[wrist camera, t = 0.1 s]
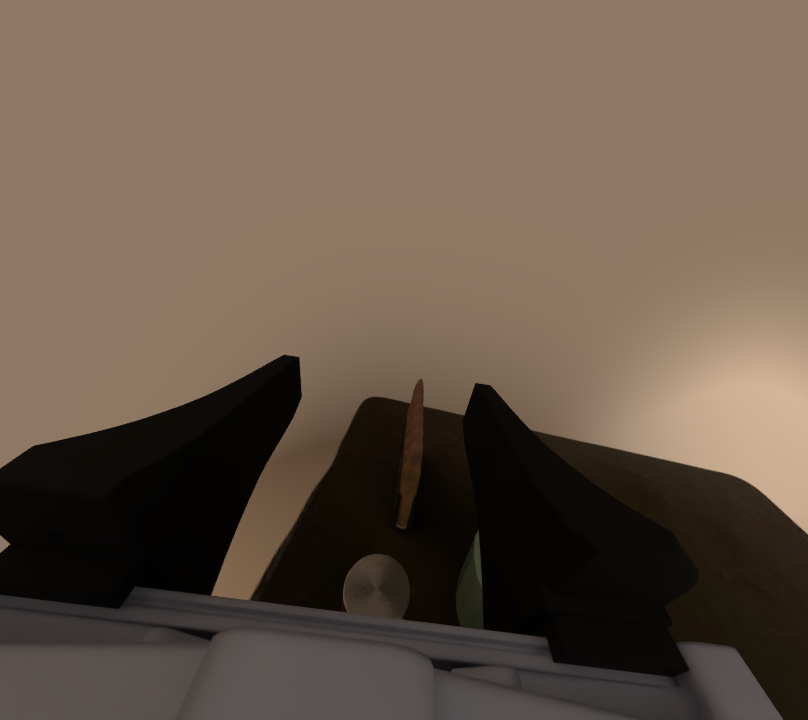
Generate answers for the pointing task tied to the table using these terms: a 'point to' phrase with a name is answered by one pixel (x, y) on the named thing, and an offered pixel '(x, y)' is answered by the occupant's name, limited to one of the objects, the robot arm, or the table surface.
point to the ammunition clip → (409, 464)
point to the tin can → (376, 588)
